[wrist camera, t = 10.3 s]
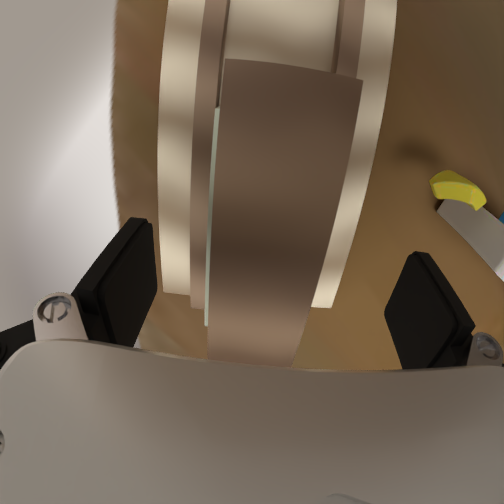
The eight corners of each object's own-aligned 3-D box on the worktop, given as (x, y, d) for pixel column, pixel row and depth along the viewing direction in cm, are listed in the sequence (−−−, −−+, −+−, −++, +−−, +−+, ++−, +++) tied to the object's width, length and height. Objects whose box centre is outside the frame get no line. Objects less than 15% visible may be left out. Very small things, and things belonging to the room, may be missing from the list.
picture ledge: (183, -43, 12) (171, -58, 9) (389, -15, 12) (407, -25, 10) (167, 281, 26) (158, 303, 23) (328, 296, 26) (333, 320, 23)
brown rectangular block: (237, 70, 16) (215, 57, 8) (320, 81, 16) (371, 82, 8) (219, 267, 23) (201, 363, 15) (285, 274, 23) (295, 371, 15)
